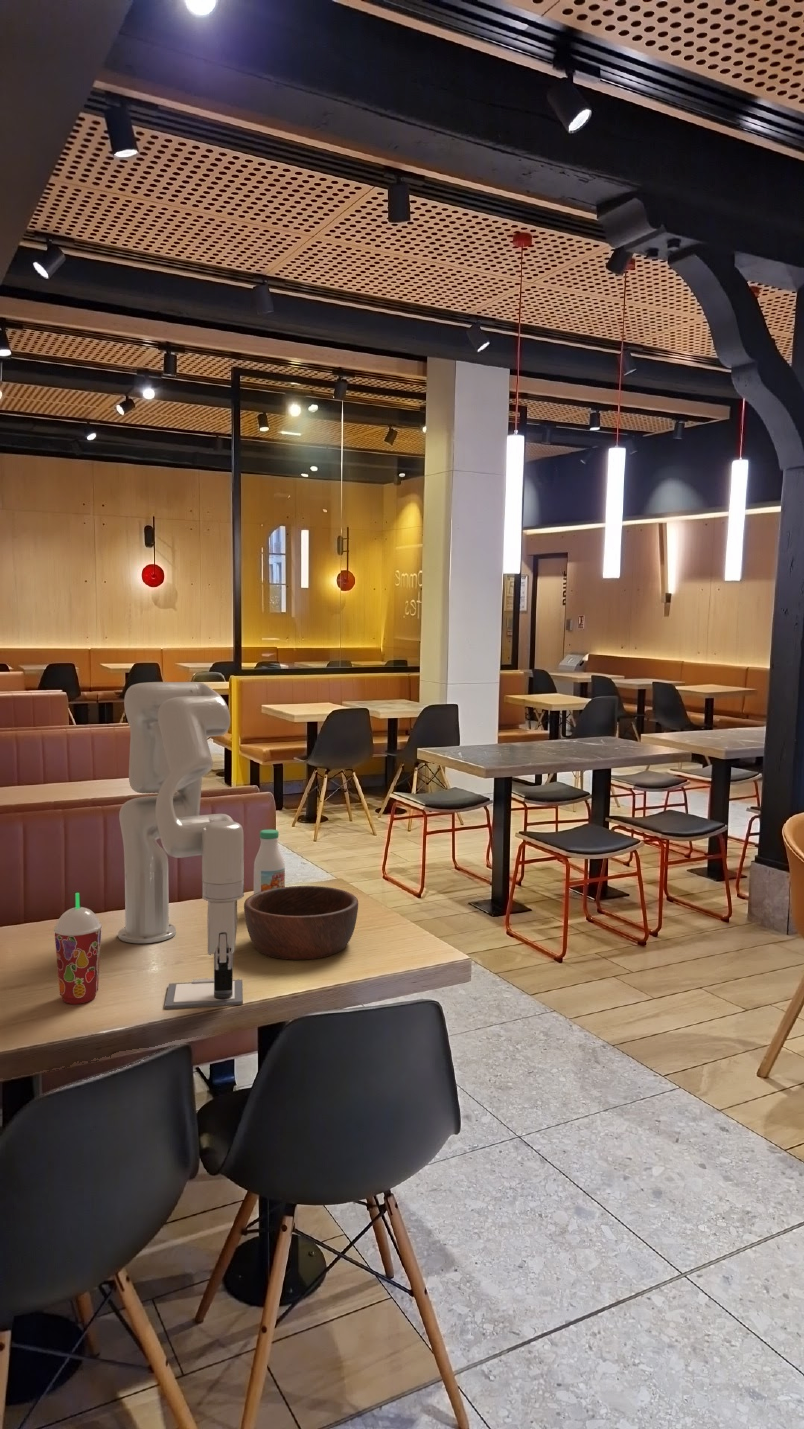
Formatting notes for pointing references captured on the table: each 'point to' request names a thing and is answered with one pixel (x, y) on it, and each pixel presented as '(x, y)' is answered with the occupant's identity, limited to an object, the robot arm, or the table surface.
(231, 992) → the orange topped gray cylinder
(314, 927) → the wooden bowl
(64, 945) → the smoothie
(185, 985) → the clipboard
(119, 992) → the table surface
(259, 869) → the milk bottle
